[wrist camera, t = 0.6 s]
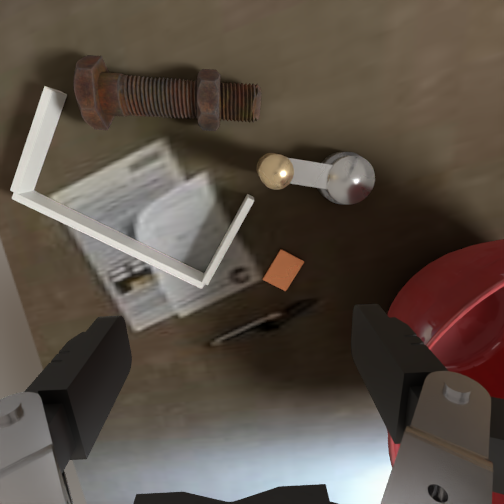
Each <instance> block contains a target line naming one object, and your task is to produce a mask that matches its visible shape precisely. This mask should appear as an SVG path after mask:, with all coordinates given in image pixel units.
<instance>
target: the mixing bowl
mask: <svg viewBox="0 0 504 504" xmlns="http://www.w3.org/2000/svg"><path fill="white" fill-rule="evenodd" d="M387 315H388V317H396V318H397V319H399V320H401V321H402V322H404V323H406V324H407V325H409V326H410V328H411V329H412V330H413V331H414V332H415V333H416V334H417V337H419V338H420V339H421V340H422V341H423V342H424V345H426V346H427V347H428V348H429V349H430V350H431V351H432V353H433V354H434V355H435V356H436V357H437V358H438V359H439V361H440V362H441V363H442V364H443V365H444V366H445V367H446V368H447V370H448V371H451V372H456V373H459V374H462V375H465V376H467V377H469V378H471V379H473V380H475V381H476V382H478V383H479V384H480V385H482V386H483V387H484V388H485V389H486V390H487V392H488V393H489V395H490V396H491V397H495V398H501V399H504V239H503V240H496V241H490V242H485V243H480V244H476V245H472V246H468V247H466V248H463V249H460V250H457V251H454V252H450V253H448V254H446V255H444V256H442V257H440V258H438V259H437V260H435V261H433V262H431V263H429V264H428V265H426V266H425V267H424V268H422V269H421V270H420V271H419V272H418V273H416V274H415V275H414V276H413V277H412V278H411V279H410V280H409V281H408V282H407V283H406V284H405V285H404V287H403V288H402V289H401V290H400V291H399V293H398V294H397V296H396V297H395V299H394V301H393V302H392V304H391V306H390V308H389V311H388V314H387ZM387 431H388V429H387ZM399 447H400V444H394V442H393V440H392V438H391V436H390V434H389V431H388V448H389V456H390V461H391V465H392V468H393V465H394V462H395V459H396V456H397V453H398V450H399ZM492 504H504V495H503V494H499V493H495V492H492Z"/></svg>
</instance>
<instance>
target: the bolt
mask: <svg viewBox="0 0 504 504" xmlns="http://www.w3.org/2000/svg"><path fill="white" fill-rule="evenodd" d="M74 92H75V96H76V100H77V104H78V107H79V110H80V113H81V115H82V117H83V119H84V120H85V122H86V123H88V124H89V125H90V126H91V127H93V128H94V129H99V130H108V129H109V127H110V125H111V123H112V121H113V119H114V117H115V116H130V115H132V116H135V115H136V116H142V115H143V116H151V117H153V116H155V117H158V116H159V117H161V116H162V117H165V116H166V117H167V118H168V117H169V116H170V118H172V117H174V118H176V117H178V118H180V117H182V118H184V117H185V118H186V119H187V118H188V117H189V118H190V119H191V118H192V117H193V119H195V118H197V119H198V125H199V126H200V127H201V129H202V130H209V131H215V130H216V129H218V128H219V127H220V120H221V119H223V120H225V119H226V120H227V121H228V120H229V119H230V120H231V121H232V120H234V121H236V120H237V121H238V122H239V120H241V121H242V122H243V120H245V121H246V122H247V120H248V121H249V122H250V121H251V120H252V122H254V121H255V120H256V121H257V120H258V119H259V117H260V106H261V88H260V87H259V86H258V84H256V85H254V84H252V86H251V84H250V83H249V84H248V85H247V84H245V85H243V83H241V85H240V84H239V83H237V84H235V82H234V83H233V84H232V83H231V82H230V83H229V84H228V83H227V82H226V83H225V84H224V82H222V83H221V77H220V74H219V73H218V72H217V70H211V69H202V70H201V71H200V72H199V73H198V76H197V81H196V79H195V81H194V82H193V81H192V79H191V81H190V82H189V80H188V79H187V80H186V81H185V80H184V79H183V80H182V81H181V79H180V78H179V80H177V79H176V78H175V80H173V78H171V79H170V80H169V78H167V79H165V78H163V79H161V77H159V79H158V78H157V77H155V79H154V78H153V77H151V78H149V77H147V78H145V76H143V77H141V76H138V77H137V76H134V77H133V75H130V76H129V75H124V74H122V73H110V72H109V71H108V69H107V67H106V64H105V62H104V60H103V58H102V56H91V55H88V56H85V57H83V58H81V59H80V60H78V61H77V63H76V67H75V71H74Z"/></svg>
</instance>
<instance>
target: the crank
mask: <svg viewBox="0 0 504 504" xmlns="http://www.w3.org/2000/svg"><path fill="white" fill-rule="evenodd" d="M257 173H258V175H259V177H260V179H261V180H262V182H263V183H264V184H265V185H266V186H267V187H268V188H271V189H275V190H278V189H282V188H285V187H286V186H287V185H289V184H297V185H303V186H309V187H316V188H322V189H325V190H326V192H327V193H328V195H329V196H330V197H331V198H333V199H334V200H336V201H338V202H339V203H342V204H347V205H350V204H356V203H359V202H361V201H362V200H364V199H365V198H366V197H367V196H368V195H369V194H370V192H371V191H372V189H373V186H374V182H375V173H374V170H373V167H372V166H371V164H370V163H369V162H368V161H367V160H366V159H364V158H362V157H359V156H350V155H347V156H342V157H339V158H337V159H335V160H334V161H333V162H332V163H331V164H324V163H318V162H312V161H306V160H299V159H293V158H287V157H285V156H283V155H279V154H275V153H267V154H265V155H263V156H262V157H261V158H260V159H259V161H258V163H257Z"/></svg>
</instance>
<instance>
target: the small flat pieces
mask: <svg viewBox="0 0 504 504" xmlns="http://www.w3.org/2000/svg"><path fill="white" fill-rule="evenodd" d="M347 155H350V156H359V157H361V156H360V155H358V154H356V153H352V152H336V153H333V154H330V155H329V156H327V157H326V158H325V159H324V160H323V161H322V162H321V163H324V164H331V163H332V162H333V161H334V160H335V159H337V158H339V157H342V156H347ZM362 158H363V157H362ZM318 190H319V192H320V193H321V194H322V195H323V196H324V197H325V198H326V199H328V200H330V201H331V202H333V203H336V204H342V203H339V202H338V201H336V200H334V199H333V198H331V197H330V196H329V195H328V193H327V192H326V190H325V189H322V188H318ZM303 263H304V261H303V260H301V259H300V258H298V257H296V256H294V255H292V254H290V253H288V252H286V251H284V250H282V249H281V248H280V250H279V252H278V253H277V255H276V257H275V258H274V260H273V262H272V263H271V265H270V267H269V268H268V270H267V272H266V273H265V275H264V277H263V278H262V279H263V280H264V281H266V282H268V283H270V284H272V285H274V286H276V287H278V288H280V289H282V290H284V291H286V290H287V289H288V287H289V285H290V284H291V282H292V281H293V279H294V278H295V276H296V274H297V273H298V271H299V270H300V268H301V266H302V265H303Z"/></svg>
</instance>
